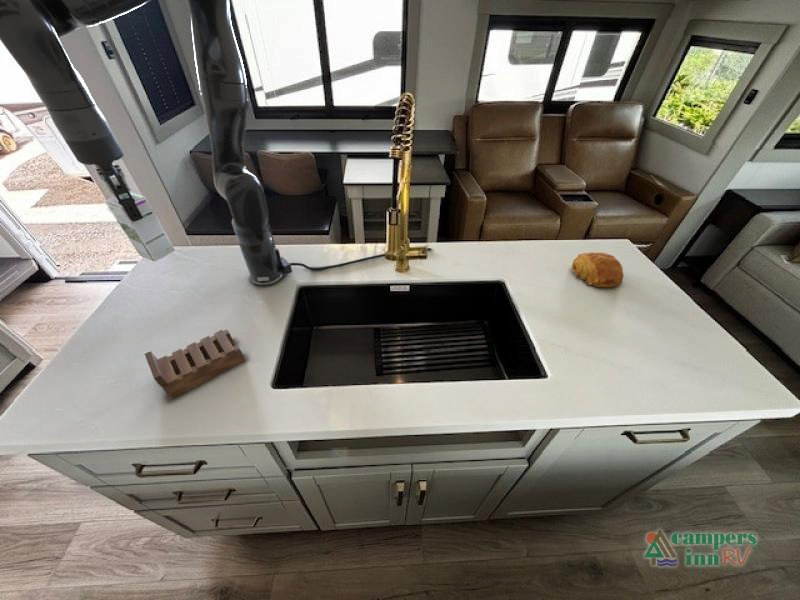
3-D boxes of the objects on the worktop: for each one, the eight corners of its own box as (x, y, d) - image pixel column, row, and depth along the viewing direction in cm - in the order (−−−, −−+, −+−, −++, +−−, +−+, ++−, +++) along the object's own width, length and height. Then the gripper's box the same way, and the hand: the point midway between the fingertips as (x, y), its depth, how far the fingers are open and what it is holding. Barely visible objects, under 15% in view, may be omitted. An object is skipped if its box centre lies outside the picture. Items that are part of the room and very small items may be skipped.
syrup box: (176, 250, 81) (146, 195, 71) (154, 262, 77) (119, 206, 67) (160, 244, 83) (130, 189, 73) (138, 256, 79) (102, 200, 69)
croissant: (564, 266, 113) (569, 246, 108) (612, 264, 111) (620, 244, 106) (577, 292, 102) (584, 272, 97) (631, 291, 100) (641, 270, 95)
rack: (232, 340, 82) (221, 318, 76) (245, 360, 77) (235, 338, 72) (162, 375, 74) (144, 353, 68) (172, 399, 69) (153, 378, 64)
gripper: (118, 139, 59) (160, 220, 70) (105, 121, 67) (145, 197, 78) (66, 147, 55) (119, 231, 67) (59, 127, 63) (108, 205, 74)
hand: (133, 212), depth 72 cm, fingers closed on syrup box, 7 cm apart
